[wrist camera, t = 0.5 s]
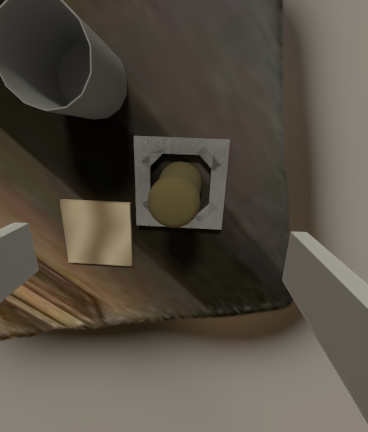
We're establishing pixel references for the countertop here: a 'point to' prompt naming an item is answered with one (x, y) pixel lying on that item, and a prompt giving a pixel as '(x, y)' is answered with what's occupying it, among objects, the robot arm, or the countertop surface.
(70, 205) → the coaster
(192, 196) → the pepper shaker
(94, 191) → the countertop surface
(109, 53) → the cup
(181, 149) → the plate
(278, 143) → the countertop surface
